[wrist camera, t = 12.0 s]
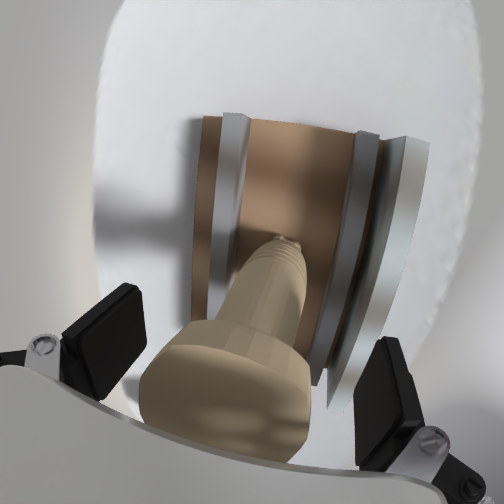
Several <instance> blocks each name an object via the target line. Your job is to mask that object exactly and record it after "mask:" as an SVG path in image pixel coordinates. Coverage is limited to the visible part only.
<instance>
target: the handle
mask: <svg viewBox="0 0 504 504" xmlns="http://www.w3.org/2000/svg"><path fill="white" fill-rule="evenodd" d="M306 286H307V272H306V264H305V260H304V258H303V255H302V253H301V245H300V244H299V242H297V241H296V240H295V241H292V240H288V239H286V238H284V237H283V236H282V235H278V236H275V237H274V238H273V240H272V241H270V242H267V243H266V244H264V245H262V246H261V247H260V248H258V249H257V250H256V251H255V252H254V253H253V254H252V255H251V257H250V258H249V259H248V260H247V261H246V263H245V264H244V266H243V267H242V268H241V270H240V271H239V273H238V274H237V276H236V278H235V280H234V282H233V284H232V286H231V288H230V290H229V292H228V294H227V296H226V298H225V300H224V302H223V304H222V306H221V308H220V310H219V312H218V313H217V315H216V317H215V319H214V320H198V321H192V322H190V323H189V324H188V325H187V326H186V327H184V328H183V329H182V330H181V331H180V332H179V333H178V334H177V335H176V336H175V337H174V338H172V339H171V340H170V341H169V342H168V343H167V344H166V345H165V346H164V347H163V349H162V350H161V351H160V352H159V353H158V354H157V356H156V357H155V358H154V359H153V360H152V362H151V363H150V364H149V366H148V367H147V368H146V370H145V371H144V373H143V374H142V376H141V379H140V384H139V410H140V414H141V416H142V419H143V421H144V423H145V424H147V425H150V426H152V427H155V428H157V429H160V430H162V431H165V432H168V433H170V434H173V435H176V436H179V437H182V438H185V439H188V440H191V441H194V442H197V443H200V444H204V445H207V446H210V447H214V448H218V449H221V450H225V451H229V452H233V453H237V454H241V455H245V456H250V457H255V458H259V459H264V460H270V461H275V462H281V463H286V462H288V461H289V460H290V459H291V458H292V457H293V456H294V455H295V454H296V453H297V452H298V451H299V450H300V448H301V447H302V446H303V444H304V443H305V441H306V440H307V436H308V432H309V424H310V415H311V377H310V367H309V364H308V363H307V362H306V361H305V360H304V359H303V357H302V356H301V355H300V354H298V353H297V352H296V351H295V350H294V349H293V345H294V341H295V337H296V333H297V329H298V325H299V322H300V318H301V314H302V310H303V306H304V301H305V296H306Z"/></svg>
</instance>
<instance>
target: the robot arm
mask: <svg viewBox="0 0 504 504" xmlns="http://www.w3.org/2000/svg"><path fill="white" fill-rule="evenodd" d="M62 337H63V338H62V339H61V340H59V338H58V337H56V336H55V335H52V334H41V335H38V336H36V337H35V338H33V339H32V340H31V341H30V342H29V345H28V347H27V350H21V351H12V352H3V353H0V504H495V503H494V502H493V500H492V499H491V498H490V496H488V497H487V498H486V497H485V496H484V494H485V492H486V485H485V481H484V480H483V478H482V477H481V476H480V475H479V474H478V473H476V472H475V471H473V470H472V469H471V468H469V467H468V466H466V465H465V464H464V463H462V462H461V461H459V460H458V459H457V458H455V457H454V456H452V455H451V454H450V453H449V450H450V440H449V438H448V436H447V434H446V433H445V432H444V431H443V430H442V429H440V428H438V427H436V426H425V422H424V418H423V414H422V410H421V406H420V403H419V399H418V395H417V392H416V388H415V384H414V381H413V378H412V375H411V374H410V373H409V371H408V368H407V365H406V362H405V358H404V355H403V352H402V349H401V346H400V343H399V340H398V338H394V337H386V336H383V337H382V338H381V340H380V339H378V340H377V341H376V343H375V345H374V348H373V350H372V352H371V355H370V357H369V359H368V361H367V363H366V366H365V368H364V370H363V372H362V374H361V376H360V378H359V380H358V382H357V384H356V386H355V389H354V393H353V401H354V422H355V463H356V466H359V471H357V470H340V469H328V468H319V467H310V466H302V465H294V464H288V463H281V462H275V461H270V460H264V459H259V458H255V457H250V456H245V455H241V454H237V453H233V452H229V451H225V450H221V449H218V448H214V447H210V446H207V445H204V444H200V443H197V442H194V441H191V440H188V439H185V438H182V437H179V436H176V435H173V434H170V433H168V432H165V431H162V430H160V429H157V428H155V427H152V426H150V425H147V424H145V423H142V422H140V421H137V420H135V419H133V418H131V417H128V416H126V415H124V414H122V413H120V412H117V411H115V410H113V409H111V408H109V407H107V406H105V405H103V404H101V403H99V401H100V400H104V399H105V398H106V397H107V395H108V394H109V393H110V392H111V390H112V389H113V388H114V387H115V385H116V384H117V383H118V382H119V380H120V379H121V378H122V377H123V375H124V374H125V373H126V372H127V370H128V369H129V368H130V367H131V365H132V364H133V363H134V362H135V360H136V359H137V358H138V357H139V355H140V354H141V353H142V352H143V350H144V349H145V348H146V345H147V337H146V329H145V321H144V312H143V301H142V292H141V291H140V290H139V288H138V286H136V285H132V284H129V283H123V284H122V285H120V286H119V287H118V288H116V289H115V290H114V291H113V292H111V293H110V294H109V295H108V296H106V297H105V298H104V299H103V300H101V301H100V302H99V303H98V304H96V305H95V306H94V307H93V308H91V309H90V310H89V311H88V312H87V313H85V314H84V315H83V316H82V317H81V318H79V319H78V320H77V321H76V322H74V324H72V325H71V326H70V327H68V328H67V330H65V331H64V332H63V333H62Z"/></svg>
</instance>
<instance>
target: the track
mask: <svg viewBox="0 0 504 504" xmlns="http://www.w3.org/2000/svg"><path fill="white" fill-rule="evenodd" d="M379 136H380V135H378V134H374V133H370V132H365V131H361V130H360V131H358V132H357V133H355V134H353V133H348V132H343V131H338V130H333V129H327V128H321V127H315V126H309V125H302V124H295V123H287V122H279V121H270V120H260V119H251V118H249V117H247V116H246V115H244V114H240V113H223V117H216V116H204V117H203V126H202V135H201V145H200V155H199V166H198V177H197V190H196V204H195V220H194V238H193V261H192V295H191V322H192V321H198V320H214V319H215V317H216V315H217V313H218V312H219V310H220V308H221V306H222V304H223V302H224V300H225V298H226V296H227V294H228V292H229V290H230V288H231V286H232V284H233V282H234V280H235V278H236V276H237V274H238V273H239V271H240V270H241V268H242V267H243V266H244V264H245V263H246V261H247V260H248V259H249V258H250V257H251V255H252V254H253V253H254V252H255V251H256V250H257V249H258V248H260V247H261V246H262V245H264V244H266V243H267V242H270V241H272V240H273V238H274V237H275V236H278V235H282V236H283V237H284V238H286V239H288V240H292V241H295V240H296V241H297V242H299V244H300V245H301V253H302V255H303V258H304V260H305V264H306V272H307V286H306V296H305V301H304V306H303V310H302V314H301V318H300V322H299V325H298V329H297V333H296V337H295V341H294V345H293V349H294V350H295V351H296V352H297V353H298V354H300V355H301V356H302V357H303V359H304V360H305V361H306V362H307V363H308V364H309V367H310V377H311V386H317V384H318V382H319V379H320V376H321V374H322V371H323V368H327V410H330V411H339V412H344V411H345V409H346V408H347V406H348V404H349V402H350V400H351V398H352V396H353V393H354V389H355V386H356V384H357V382H358V380H359V378H360V376H361V374H362V372H363V370H364V368H365V366H366V363H367V361H368V359H369V357H370V355H371V352H372V350H373V348H374V345H375V343H376V341H377V340H378V339H379V337H380V334H381V332H382V329H383V327H384V324H385V322H386V319H387V316H388V314H389V311H390V308H391V305H392V302H393V300H394V297H395V294H396V291H397V288H398V285H399V282H400V279H401V275H402V272H403V269H404V265H405V262H406V259H407V255H408V251H409V248H410V244H411V240H412V236H413V232H414V228H415V224H416V220H417V215H418V211H419V206H420V201H421V196H422V191H423V186H424V180H425V174H426V168H427V161H428V154H429V146H430V143H428V142H425V141H422V140H419V139H416V138H412V137H409V136H403V137H398V138H393V139H389V140H380V139H379Z"/></svg>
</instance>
